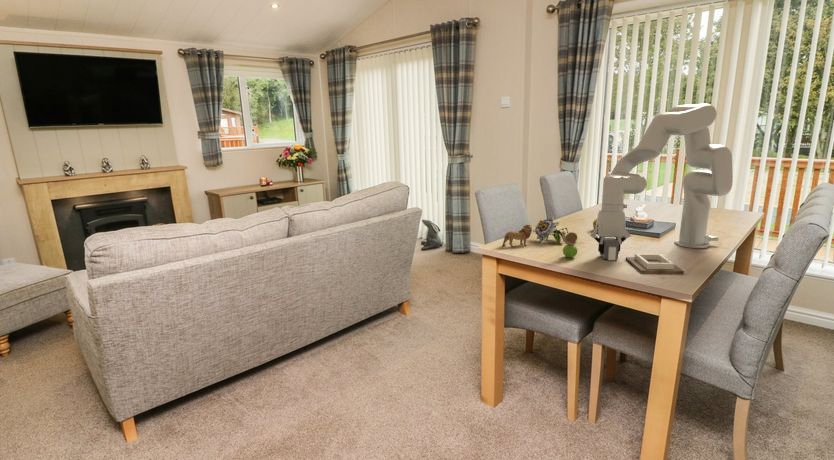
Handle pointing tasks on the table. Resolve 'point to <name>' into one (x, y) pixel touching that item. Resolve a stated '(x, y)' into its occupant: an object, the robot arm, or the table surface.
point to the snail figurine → (569, 244)
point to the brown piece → (653, 264)
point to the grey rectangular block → (610, 249)
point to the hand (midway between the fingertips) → (608, 252)
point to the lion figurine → (518, 235)
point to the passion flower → (548, 230)
